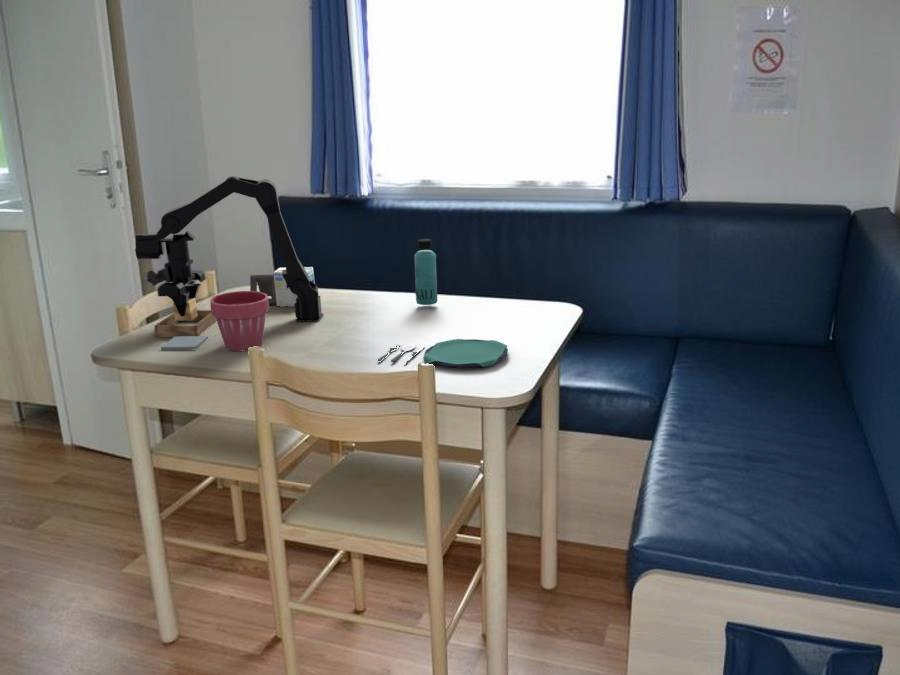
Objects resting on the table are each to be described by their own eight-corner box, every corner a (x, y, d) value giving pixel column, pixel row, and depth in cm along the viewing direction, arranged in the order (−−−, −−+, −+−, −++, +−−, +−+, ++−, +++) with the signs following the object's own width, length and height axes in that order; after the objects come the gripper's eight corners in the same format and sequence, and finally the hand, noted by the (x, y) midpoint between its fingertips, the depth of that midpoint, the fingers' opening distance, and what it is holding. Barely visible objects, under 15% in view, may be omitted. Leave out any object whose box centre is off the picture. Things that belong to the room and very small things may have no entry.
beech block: (197, 315, 227) (195, 298, 225) (191, 320, 223) (189, 302, 221) (181, 315, 227) (179, 298, 226) (175, 320, 223) (172, 302, 221)
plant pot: (284, 343, 210) (279, 295, 206) (238, 358, 199) (232, 307, 196) (249, 334, 218) (244, 287, 215) (204, 347, 208) (198, 299, 204)
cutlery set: (497, 375, 183) (497, 365, 183) (372, 368, 192) (371, 359, 191) (516, 348, 202) (515, 339, 201) (400, 343, 210) (400, 334, 209)
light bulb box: (316, 301, 250) (314, 266, 246) (311, 307, 243) (308, 271, 240) (282, 301, 251) (279, 266, 247) (276, 307, 244) (272, 271, 241)
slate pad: (208, 339, 215) (208, 336, 215) (195, 349, 207) (195, 346, 207) (175, 339, 216) (175, 336, 216) (161, 350, 208) (160, 347, 207)
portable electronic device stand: (248, 306, 246) (245, 279, 243) (254, 299, 253) (251, 273, 251) (278, 305, 246) (275, 278, 243) (283, 299, 253) (280, 272, 251)
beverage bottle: (430, 303, 243) (428, 236, 237) (442, 307, 238) (440, 239, 232) (411, 306, 240) (408, 239, 234) (423, 311, 234) (420, 242, 228)
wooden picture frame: (218, 319, 233) (217, 309, 232) (198, 336, 218) (196, 325, 217) (178, 320, 234) (177, 310, 233) (155, 336, 219) (154, 326, 218)
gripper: (163, 250, 229) (171, 304, 234) (134, 265, 212) (142, 323, 216) (202, 250, 228) (209, 304, 233) (175, 265, 211) (183, 323, 215)
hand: (186, 313), depth 224 cm, fingers closed on beech block, 4 cm apart
